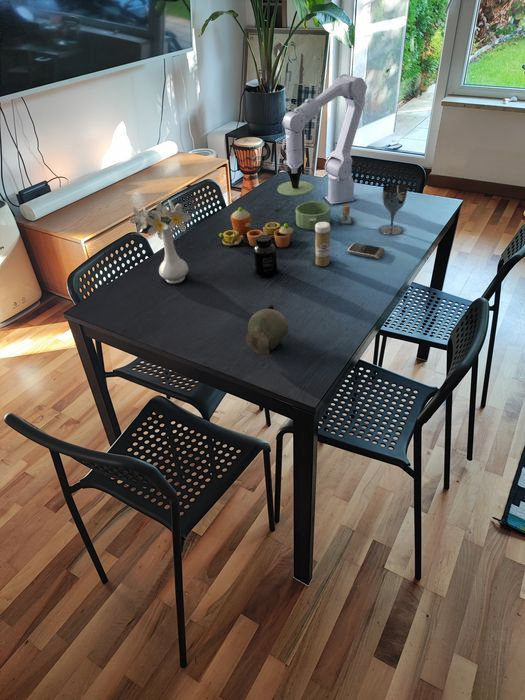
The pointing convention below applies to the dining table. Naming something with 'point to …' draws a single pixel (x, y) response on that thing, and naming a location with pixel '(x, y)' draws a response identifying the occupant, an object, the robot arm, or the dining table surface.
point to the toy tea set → (243, 226)
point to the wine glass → (393, 204)
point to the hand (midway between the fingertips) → (295, 185)
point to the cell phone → (366, 250)
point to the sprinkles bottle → (322, 243)
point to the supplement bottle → (265, 256)
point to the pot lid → (289, 190)
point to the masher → (346, 213)
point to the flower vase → (165, 237)
